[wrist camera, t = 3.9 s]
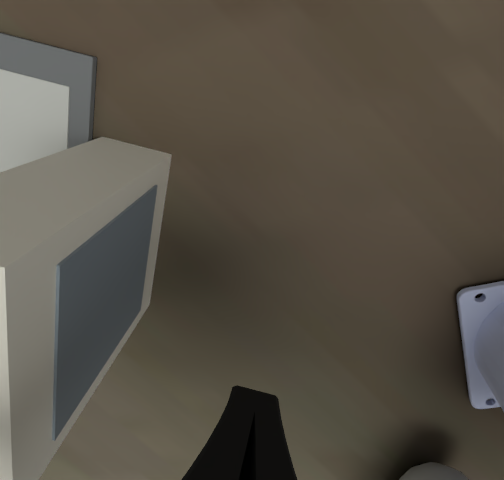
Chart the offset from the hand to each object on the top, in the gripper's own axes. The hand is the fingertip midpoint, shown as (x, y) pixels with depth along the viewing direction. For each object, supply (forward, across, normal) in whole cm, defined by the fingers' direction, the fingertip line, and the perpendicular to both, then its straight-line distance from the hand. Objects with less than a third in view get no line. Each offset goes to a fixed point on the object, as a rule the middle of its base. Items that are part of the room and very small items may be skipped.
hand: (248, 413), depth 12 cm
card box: (+10, +8, 0) cm, 13 cm away
